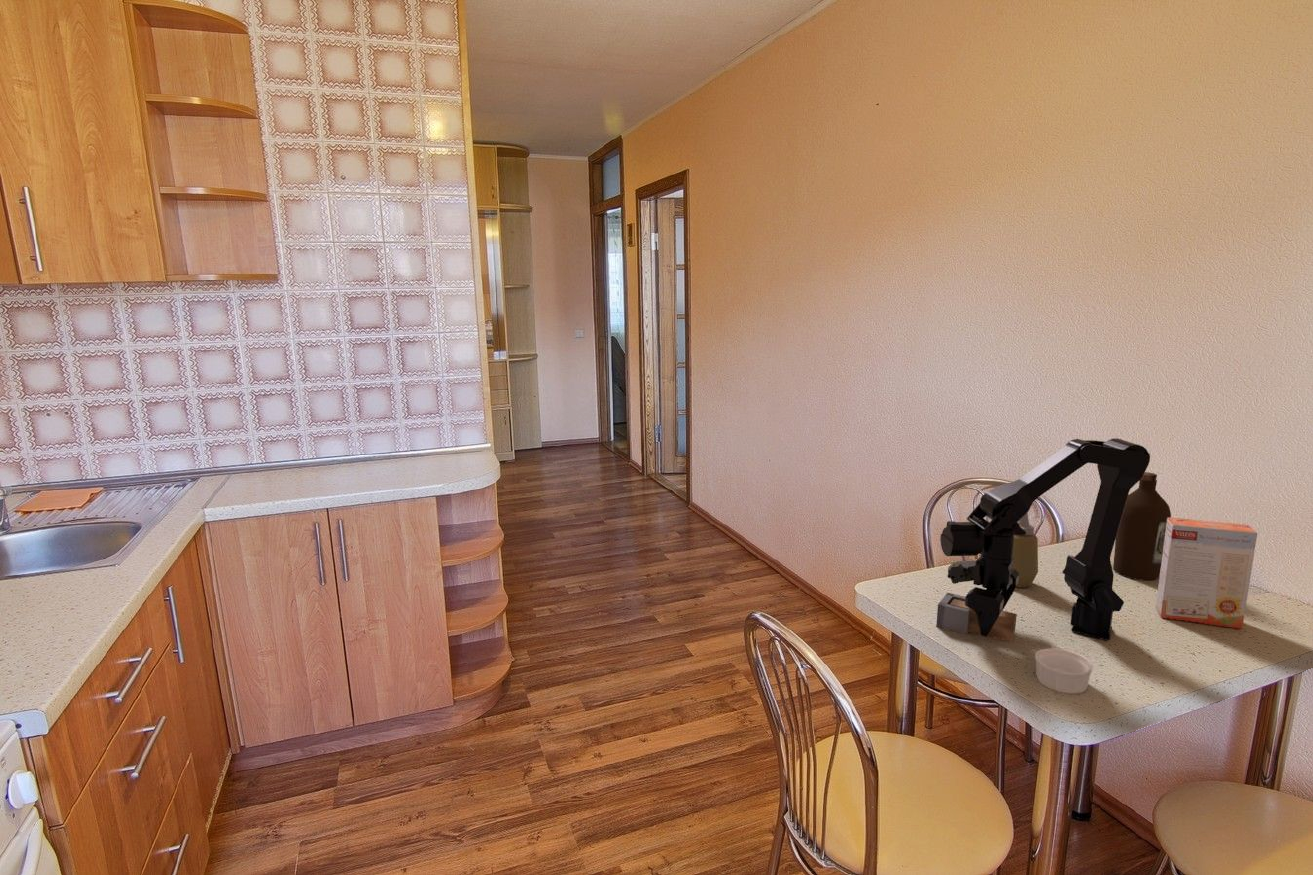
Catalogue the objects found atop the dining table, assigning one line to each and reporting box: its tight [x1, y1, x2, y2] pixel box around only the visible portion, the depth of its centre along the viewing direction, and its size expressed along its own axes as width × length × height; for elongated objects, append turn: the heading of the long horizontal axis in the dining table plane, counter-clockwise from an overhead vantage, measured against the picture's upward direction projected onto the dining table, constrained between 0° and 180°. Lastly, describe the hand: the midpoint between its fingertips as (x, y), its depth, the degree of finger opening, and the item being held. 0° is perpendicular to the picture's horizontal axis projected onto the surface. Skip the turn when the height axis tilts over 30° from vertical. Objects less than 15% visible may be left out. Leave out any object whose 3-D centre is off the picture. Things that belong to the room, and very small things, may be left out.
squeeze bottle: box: [1011, 512, 1039, 588], centre depth 165 cm, size 8×8×18 cm
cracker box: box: [1155, 517, 1258, 630], centre depth 146 cm, size 14×6×21 cm, turn 65°
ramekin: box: [1034, 647, 1094, 695], centre depth 125 cm, size 9×9×4 cm
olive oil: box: [1112, 471, 1172, 581], centre depth 169 cm, size 11×11×25 cm
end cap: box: [935, 592, 970, 635], centre depth 147 cm, size 6×7×5 cm
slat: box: [950, 599, 1018, 643], centre depth 144 cm, size 12×3×5 cm, turn 53°
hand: (989, 626), depth 143 cm, fingers open, 9 cm apart
